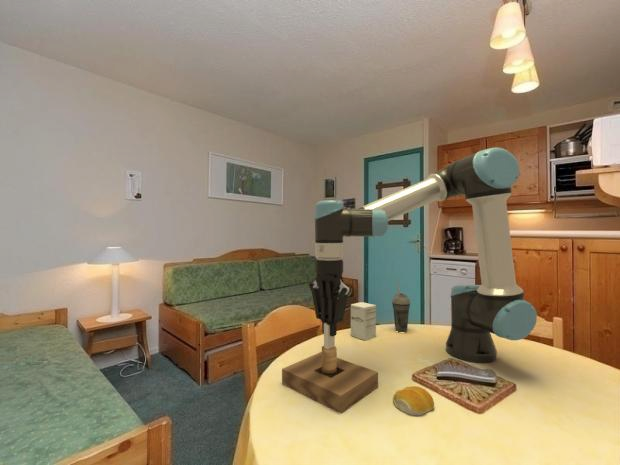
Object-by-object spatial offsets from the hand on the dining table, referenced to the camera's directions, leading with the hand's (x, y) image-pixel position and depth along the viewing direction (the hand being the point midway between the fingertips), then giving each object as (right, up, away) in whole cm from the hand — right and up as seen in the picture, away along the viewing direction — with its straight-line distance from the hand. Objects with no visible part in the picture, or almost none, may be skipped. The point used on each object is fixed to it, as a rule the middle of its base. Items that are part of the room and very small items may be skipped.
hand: (329, 347), depth 81 cm
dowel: (0, -10, 0) cm, 10 cm away
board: (0, -10, 0) cm, 10 cm away
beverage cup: (+33, -11, +45) cm, 56 cm away
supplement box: (+16, -11, +39) cm, 43 cm away
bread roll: (+19, -11, -9) cm, 24 cm away
